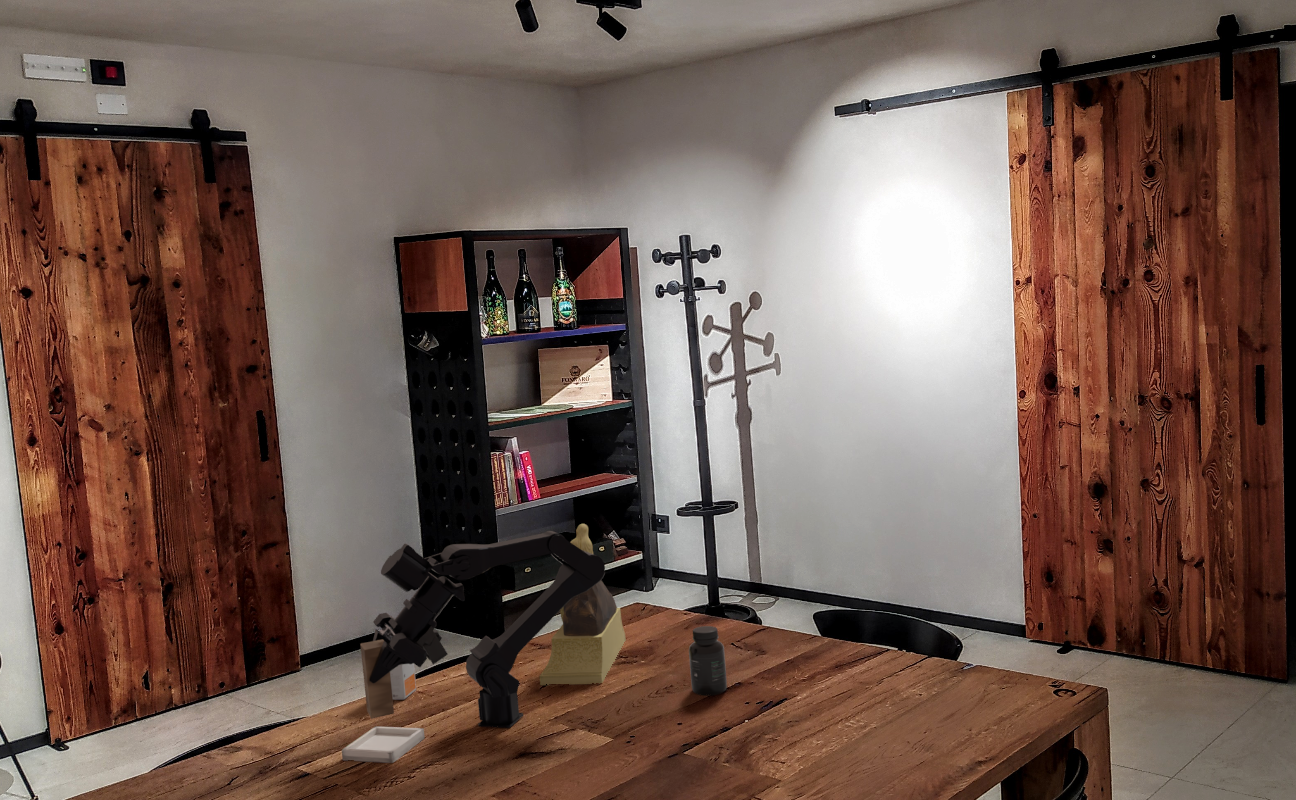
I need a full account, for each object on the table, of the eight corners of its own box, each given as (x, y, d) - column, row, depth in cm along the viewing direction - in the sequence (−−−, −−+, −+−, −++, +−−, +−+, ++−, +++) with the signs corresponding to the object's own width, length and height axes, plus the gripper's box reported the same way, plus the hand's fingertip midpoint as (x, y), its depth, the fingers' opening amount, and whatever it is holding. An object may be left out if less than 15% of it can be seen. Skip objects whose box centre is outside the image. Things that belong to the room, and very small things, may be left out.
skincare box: (405, 700, 219) (399, 642, 219) (385, 700, 220) (379, 642, 219) (417, 689, 225) (412, 633, 224) (398, 690, 226) (392, 633, 225)
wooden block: (389, 706, 196) (382, 639, 195) (394, 713, 193) (387, 645, 192) (367, 711, 195) (360, 643, 194) (371, 718, 191) (364, 649, 190)
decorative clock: (570, 643, 250) (559, 514, 248) (625, 642, 248) (615, 511, 246) (540, 685, 222) (527, 540, 220) (602, 684, 220) (589, 537, 218)
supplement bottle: (685, 689, 212) (680, 629, 211) (714, 681, 216) (709, 622, 215) (704, 698, 206) (699, 636, 205) (734, 690, 210) (729, 629, 209)
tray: (424, 738, 198) (423, 728, 197) (392, 762, 187) (391, 752, 187) (376, 735, 201) (375, 726, 201) (342, 760, 190) (341, 750, 190)
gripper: (472, 644, 190) (415, 719, 187) (446, 617, 207) (393, 686, 204) (424, 609, 186) (364, 685, 183) (400, 584, 203) (346, 654, 200)
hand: (369, 678), depth 193 cm, fingers closed on wooden block, 4 cm apart
